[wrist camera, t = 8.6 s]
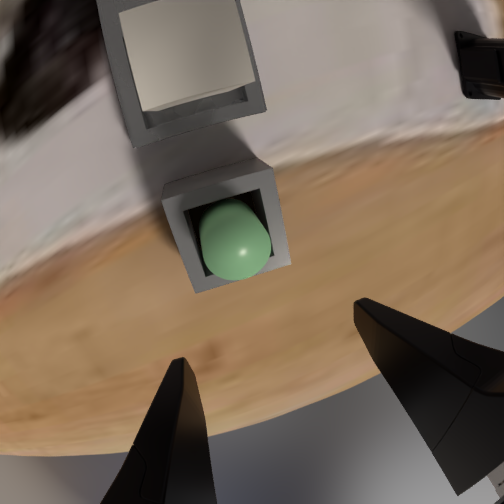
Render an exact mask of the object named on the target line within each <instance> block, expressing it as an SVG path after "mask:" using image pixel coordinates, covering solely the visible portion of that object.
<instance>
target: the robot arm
mask: <svg viewBox="0 0 504 504" xmlns="http://www.w3.org/2000/svg"><path fill="white" fill-rule="evenodd" d="M455 38H456V43H457V48H458V54H459V59H460V65H461V72H462V79H463V87H464V94H465V97H466V98H469V99H493V100H500V99H501V98H504V39H497V38H485V37H482V36H478V35H475V34H471V33H467V32H463V31H455ZM354 323H355V326H356V328H357V330H358V332H359V334H360V336H361V338H362V340H363V342H364V343H365V345H366V347H367V349H368V351H369V353H370V355H371V357H372V359H373V361H374V363H375V364H376V366H377V367H378V369H379V370H380V372H381V373H382V375H383V376H384V378H385V379H386V381H387V382H388V384H389V385H390V387H391V388H392V390H393V392H394V393H395V395H396V396H397V398H398V399H399V401H400V402H401V404H402V406H403V407H404V409H405V410H406V412H407V413H408V415H409V416H410V418H411V420H412V421H413V423H414V424H415V426H416V427H417V429H418V431H419V433H420V434H421V436H422V437H423V439H424V441H425V442H426V444H427V445H428V447H429V449H430V450H431V451H432V454H433V456H434V457H435V459H436V461H437V462H438V464H439V466H440V467H441V469H442V471H443V472H444V474H445V476H446V477H447V479H448V481H449V482H450V484H451V486H452V488H453V489H454V491H455V493H456V494H457V496H459V495H460V494H462V493H463V492H465V491H466V490H468V489H469V488H470V487H472V486H473V485H475V484H476V483H477V482H479V481H480V480H481V479H483V478H484V477H485V476H488V478H489V479H490V481H491V482H492V484H493V485H494V487H495V489H496V492H497V494H498V495H499V497H500V499H499V500H498V501H497V502H495V504H504V352H503V351H500V350H497V349H493V348H490V347H487V346H484V345H480V344H477V343H475V342H472V341H469V340H467V339H464V338H462V337H459V336H456V335H454V334H450V333H449V332H447V331H445V330H442V329H440V328H438V327H435V326H433V325H430V324H428V323H426V322H423V321H421V320H418V319H416V318H414V317H411V316H409V315H407V314H404V313H402V312H399V311H397V310H395V309H392V308H390V307H388V306H385V305H383V304H380V303H378V302H376V301H373V300H371V299H368V298H361V299H359V300H356V301H355V302H354ZM133 444H134V445H132V446H131V449H130V451H129V453H128V455H127V457H126V459H125V461H124V463H123V465H122V467H121V469H120V471H119V473H118V474H117V476H116V478H115V480H114V482H113V483H112V485H111V486H110V488H109V490H108V491H107V493H106V495H105V496H104V498H103V500H102V501H101V503H100V504H217V499H216V493H215V487H214V480H213V474H212V467H211V460H210V452H209V445H208V437H207V428H206V421H205V416H204V411H203V407H202V403H201V399H200V394H199V390H198V386H197V381H196V377H195V374H194V372H193V370H192V369H191V367H190V365H189V363H188V362H187V360H186V359H185V358H184V357H181V358H178V359H174V360H172V362H171V364H170V366H169V368H168V370H167V372H166V374H165V376H164V378H163V380H162V382H161V384H160V386H159V389H158V391H157V393H156V395H155V397H154V399H153V401H152V403H151V406H150V408H149V410H148V412H147V414H146V416H145V418H144V421H143V423H142V425H141V427H140V429H139V431H138V433H137V436H136V438H135V440H134V442H133Z"/></svg>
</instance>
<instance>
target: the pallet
mask: <svg viewBox="0 0 504 504" xmlns="http://www.w3.org/2000/svg"><path fill="white" fill-rule="evenodd" d="M96 1H97V6H98V12H99V17H100V22H101V27H102V32H103V36H104V41H105V46H106V50H107V54H108V59H109V63H110V67H111V71H112V75H113V79H114V83H115V87H116V91H117V94H118V98H119V102H120V105H121V109H122V113H123V116H124V120H125V123H126V127H127V130H128V133H129V137H130V140H131V143H132V146H133V148H135V147H136V148H139V147H142V146H145V145H148V144H151V143H154V142H157V141H160V140H163V139H166V138H169V137H172V136H175V135H178V134H182V133H185V132H188V131H192V130H195V129H199V128H202V127H206V126H209V125H213V124H217V123H221V122H225V121H229V120H233V119H237V118H241V117H245V116H250V115H254V114H259V113H263V112H266V110H267V109H266V104H265V100H264V95H263V91H262V87H261V82H260V78H259V74H258V70H257V66H256V62H255V58H254V54H253V49H252V46H251V42H250V38H249V34H248V30H247V26H246V22H245V18H244V15H243V11H242V7H241V4H240V0H235V2H236V6H237V10H238V14H239V17H240V21H241V25H242V29H243V33H244V36H245V40H246V44H247V48H248V52H249V56H250V60H251V64H252V68H253V73H254V77H255V81H254V82H252V83H249V84H246V85H244V86H241V87H238V88H236V89H233V90H231V91H228V92H225V93H221V94H217V95H213V96H209V97H205V98H201V99H197V100H194V101H190V102H187V103H183V104H180V105H176V106H173V107H170V108H167V109H163V110H160V111H142V107H141V103H140V100H139V96H138V92H137V89H136V85H135V81H134V77H133V73H132V69H131V65H130V61H129V57H128V53H127V49H126V44H125V40H124V36H123V31H122V27H121V22H120V17H119V13H120V12H123V11H126V10H129V9H132V8H135V7H138V6H141V5H145V4H148V3H151V2H155V1H158V0H96Z"/></svg>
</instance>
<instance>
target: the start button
mask: <svg viewBox="0 0 504 504" xmlns="http://www.w3.org/2000/svg"><path fill="white" fill-rule="evenodd" d="M199 234H200V240H201V246H202V253H203V258H204V261H205V264H206V266H207V267H208V269H209V270H210V271H211V272H212V273H213V274H215V275H216V276H218V277H220V278H223V279H226V280H242V279H246V278H249V277H251V276H253V275H254V274H256V273H257V272H259V271H260V270H261V269H262V268H263V267H264V265H265V264H266V262H267V261H268V259H269V256H270V253H271V240H270V237H269V235H268V233H267V231H266V230H265V228H264V227H263V225H262V224H261V222H260V221H259V219H258V218H257V216H256V215H255V213H254V212H253V210H252V209H251V208H250V207H249V206H248V205H247V204H246V203H244V202H242V201H240V200H237V199H230V198H228V199H222V200H218V201H216V202H214V203H212V204H211V205H210V206H208V207H207V208H206V210H205V211H204V212H203V214H202V216H201V218H200V221H199Z"/></svg>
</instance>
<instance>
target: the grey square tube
mask: <svg viewBox="0 0 504 504" xmlns="http://www.w3.org/2000/svg"><path fill="white" fill-rule="evenodd" d="M248 191H251V195H252V199H253V204H254V208H255V212H256V216H257V218H258V219H259V221H260V222H261V224H262V225H263V227H264V228H265V230H266V231H267V233H268V235H269V237H270V240H271V253H270V256H269V259H268V261H267V262H266V264H265V265H264V267H263V268H262V269H261V270H260V271H259V272H257V273H256V274H254V275H253V276H255V275H258V274H261V273H264V272H268V271H271V270H274V269H277V268H280V267H283V266H286V265H290V264H291V260H290V254H289V249H288V243H287V238H286V233H285V227H284V222H283V217H282V212H281V207H280V202H279V197H278V192H277V187H276V182H275V177H274V172H273V168H272V167H270V166H269V165H267V164H266V163H265V162H263V161H262V160H260V159H259V158H253V159H250V160H246V161H242V162H238V163H235V164H231V165H227V166H224V167H220V168H217V169H213V170H210V171H206V172H203V173H200V174H196V175H193V176H190V177H187V178H183V179H180V180H177V181H174V182H171V183H168V184H165V185H164V189H163V194H162V199H161V202H162V205H163V208H164V211H165V213H166V216H167V219H168V222H169V225H170V228H171V230H172V233H173V236H174V239H175V241H176V244H177V247H178V249H179V252H180V255H181V257H182V260H183V263H184V265H185V268H186V270H187V273H188V276H189V278H190V281H191V283H192V286H193V288H194V291H195V293H199V292H203V291H206V290H209V289H213V288H216V287H219V286H222V285H226V284H229V283H232V282H235V281H239V280H226V279H223V278H220V277H218V276H216V275H215V274H213V273H212V272H211V271H210V270H209V269H208V267H207V266H206V264H205V261H204V258H203V253H202V250H201V249H200V246H199V243H198V240H197V237H196V234H195V231H194V228H193V225H192V222H191V218H190V215H189V212H188V209H191V208H194V207H197V206H201V205H204V204H207V203H211V202H214V201H217V200H221V199H224V198H227V197H231V196H234V195H238V194H241V193H245V192H248ZM251 277H252V276H251Z"/></svg>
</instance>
